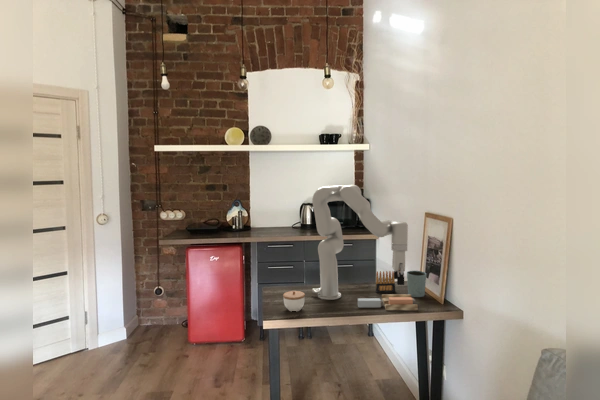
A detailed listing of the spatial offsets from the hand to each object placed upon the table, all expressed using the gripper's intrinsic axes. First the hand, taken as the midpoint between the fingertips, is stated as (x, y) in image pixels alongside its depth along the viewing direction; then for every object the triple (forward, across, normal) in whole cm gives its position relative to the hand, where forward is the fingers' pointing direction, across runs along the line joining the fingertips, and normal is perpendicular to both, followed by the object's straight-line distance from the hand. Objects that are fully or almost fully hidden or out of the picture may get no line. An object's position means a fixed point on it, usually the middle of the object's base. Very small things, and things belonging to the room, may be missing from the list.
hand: (398, 281), depth 184 cm
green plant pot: (+13, -20, +13) cm, 27 cm away
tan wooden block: (+12, 0, +1) cm, 12 cm away
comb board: (+13, -4, +1) cm, 14 cm away
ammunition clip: (+14, -25, -3) cm, 28 cm away
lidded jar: (+14, +3, -51) cm, 53 cm away
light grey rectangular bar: (+14, -2, -14) cm, 20 cm away
